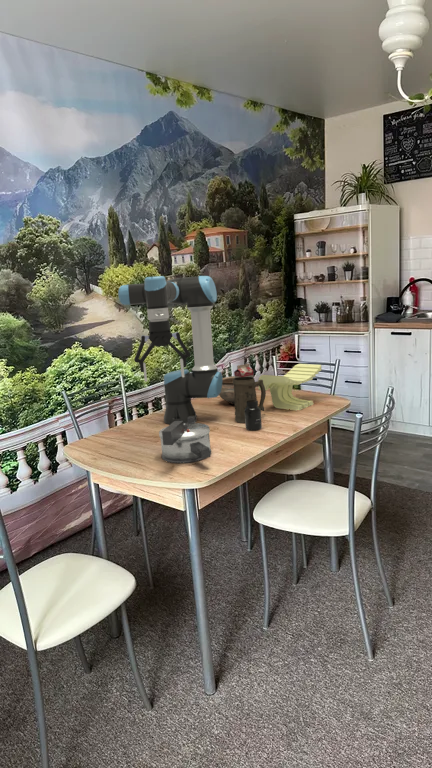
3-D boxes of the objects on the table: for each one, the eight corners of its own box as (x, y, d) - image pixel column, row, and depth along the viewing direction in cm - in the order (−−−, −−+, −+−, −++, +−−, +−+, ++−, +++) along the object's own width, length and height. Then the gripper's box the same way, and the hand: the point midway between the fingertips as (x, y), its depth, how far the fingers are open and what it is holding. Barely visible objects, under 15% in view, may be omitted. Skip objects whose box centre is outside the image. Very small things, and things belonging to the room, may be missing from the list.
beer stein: (240, 424, 235) (240, 380, 232) (229, 420, 244) (228, 377, 241) (270, 420, 242) (269, 377, 238) (257, 416, 251) (257, 374, 248)
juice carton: (255, 409, 260) (252, 364, 256) (244, 411, 257) (240, 366, 253) (248, 406, 266) (245, 362, 262) (236, 409, 263) (233, 364, 259)
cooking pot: (230, 396, 292) (228, 374, 290) (263, 397, 284) (261, 374, 281) (210, 407, 270) (207, 384, 268) (244, 409, 262) (243, 384, 260)
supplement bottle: (260, 430, 224) (259, 402, 221) (244, 431, 225) (242, 403, 223) (262, 426, 230) (261, 398, 228) (247, 426, 232) (245, 399, 229)
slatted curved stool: (295, 397, 277) (293, 363, 274) (322, 400, 267) (321, 364, 263) (260, 411, 256) (257, 374, 252) (288, 414, 245) (285, 376, 242)
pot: (152, 451, 208) (150, 431, 207) (196, 442, 216) (194, 422, 214) (182, 474, 181) (179, 452, 179) (231, 463, 188) (229, 441, 187)
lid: (171, 424, 213) (169, 409, 211) (216, 424, 208) (215, 408, 206) (142, 449, 185) (140, 431, 184) (194, 449, 180) (192, 431, 179)
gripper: (124, 324, 187) (130, 384, 191) (194, 317, 192) (199, 376, 196) (123, 322, 195) (129, 380, 198) (191, 316, 199) (196, 373, 203)
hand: (164, 378), depth 197 cm, fingers open, 13 cm apart
